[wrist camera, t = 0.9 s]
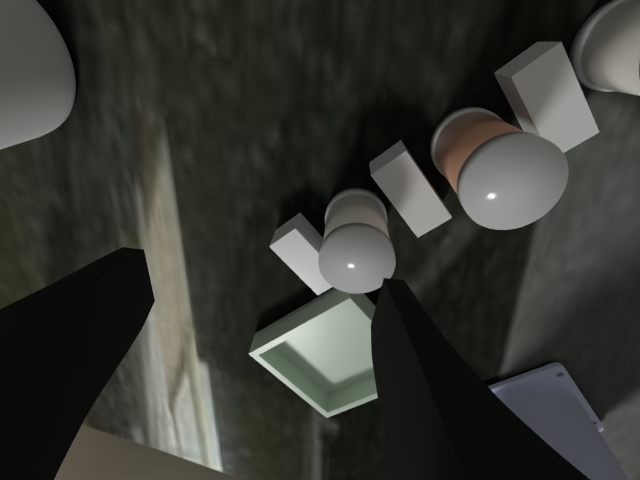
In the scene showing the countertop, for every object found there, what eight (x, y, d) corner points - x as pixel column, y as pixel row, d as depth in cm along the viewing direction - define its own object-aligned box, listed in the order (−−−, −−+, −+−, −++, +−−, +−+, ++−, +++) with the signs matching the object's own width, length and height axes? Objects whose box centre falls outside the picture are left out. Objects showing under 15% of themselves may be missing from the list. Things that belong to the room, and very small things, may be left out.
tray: (420, 355, 25) (425, 378, 24) (328, 395, 29) (326, 417, 27) (350, 278, 22) (349, 298, 21) (255, 333, 26) (248, 353, 24)
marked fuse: (514, 149, 17) (583, 195, 12) (450, 189, 19) (488, 245, 13) (482, 90, 16) (544, 113, 11) (416, 137, 17) (443, 177, 12)
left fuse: (398, 221, 20) (410, 270, 16) (349, 251, 21) (348, 304, 17) (362, 175, 19) (365, 215, 14) (313, 210, 20) (302, 256, 16)
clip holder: (754, 13, 14) (811, 9, 12) (320, 276, 22) (317, 295, 21) (733, -100, 12) (795, -123, 10) (276, 229, 21) (269, 246, 19)
